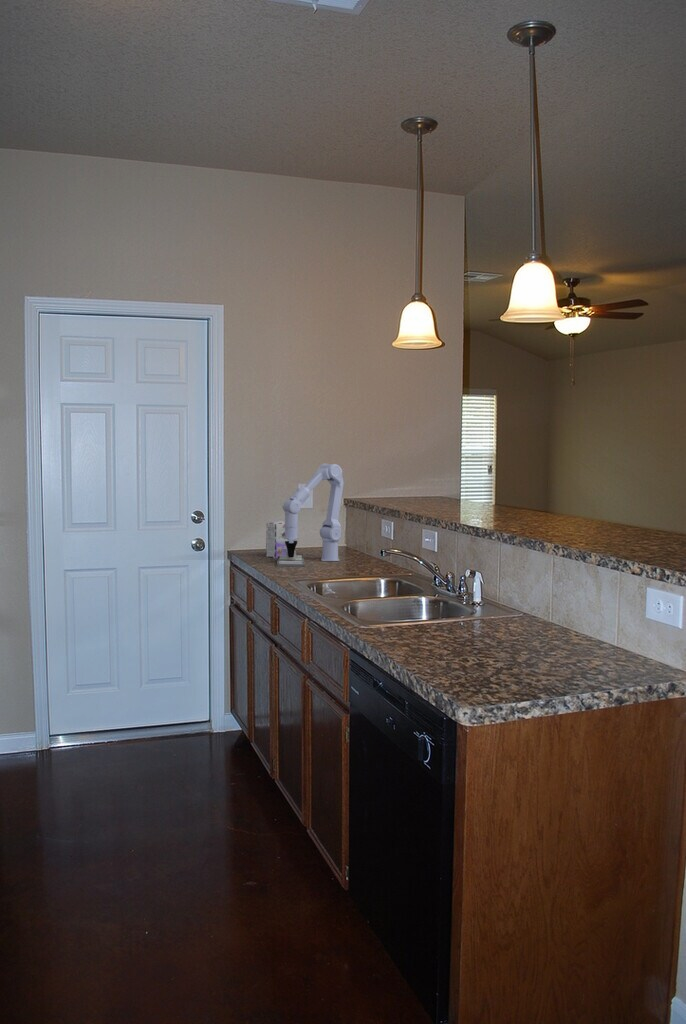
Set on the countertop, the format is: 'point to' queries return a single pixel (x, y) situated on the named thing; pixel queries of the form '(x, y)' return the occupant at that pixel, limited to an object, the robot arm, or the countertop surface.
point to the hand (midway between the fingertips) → (290, 557)
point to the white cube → (290, 557)
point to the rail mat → (290, 561)
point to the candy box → (275, 539)
